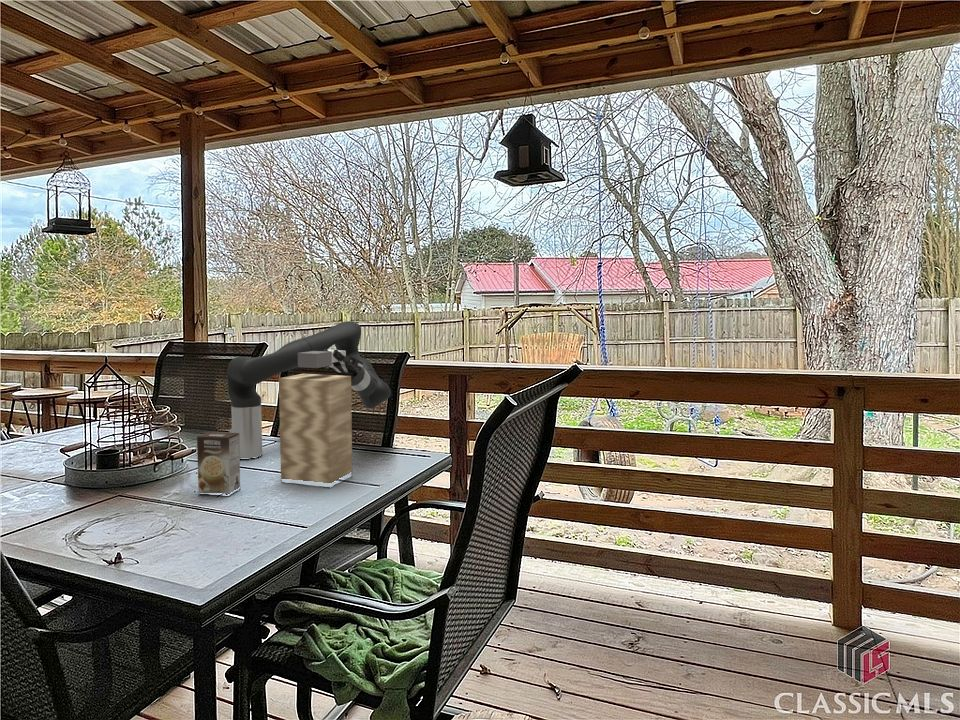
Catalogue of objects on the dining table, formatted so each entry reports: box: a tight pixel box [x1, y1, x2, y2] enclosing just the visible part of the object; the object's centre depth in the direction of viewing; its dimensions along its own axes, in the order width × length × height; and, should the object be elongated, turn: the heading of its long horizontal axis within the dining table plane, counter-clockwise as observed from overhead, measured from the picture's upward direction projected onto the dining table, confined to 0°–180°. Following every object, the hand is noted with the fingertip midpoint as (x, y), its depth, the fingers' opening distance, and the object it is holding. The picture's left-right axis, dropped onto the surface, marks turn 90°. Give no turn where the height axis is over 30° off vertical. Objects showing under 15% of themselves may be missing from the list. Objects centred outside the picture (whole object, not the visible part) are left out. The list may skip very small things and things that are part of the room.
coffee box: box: [196, 431, 241, 494], centre depth 163 cm, size 9×6×16 cm
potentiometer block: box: [297, 350, 346, 369], centre depth 178 cm, size 6×18×4 cm, turn 162°
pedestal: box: [278, 373, 353, 483], centre depth 175 cm, size 16×12×30 cm
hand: (329, 352), depth 180 cm, fingers closed on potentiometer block, 3 cm apart
